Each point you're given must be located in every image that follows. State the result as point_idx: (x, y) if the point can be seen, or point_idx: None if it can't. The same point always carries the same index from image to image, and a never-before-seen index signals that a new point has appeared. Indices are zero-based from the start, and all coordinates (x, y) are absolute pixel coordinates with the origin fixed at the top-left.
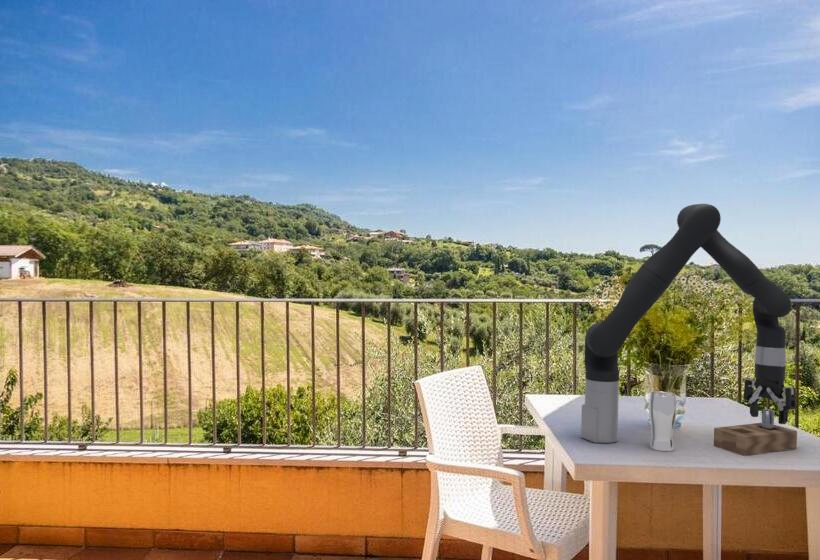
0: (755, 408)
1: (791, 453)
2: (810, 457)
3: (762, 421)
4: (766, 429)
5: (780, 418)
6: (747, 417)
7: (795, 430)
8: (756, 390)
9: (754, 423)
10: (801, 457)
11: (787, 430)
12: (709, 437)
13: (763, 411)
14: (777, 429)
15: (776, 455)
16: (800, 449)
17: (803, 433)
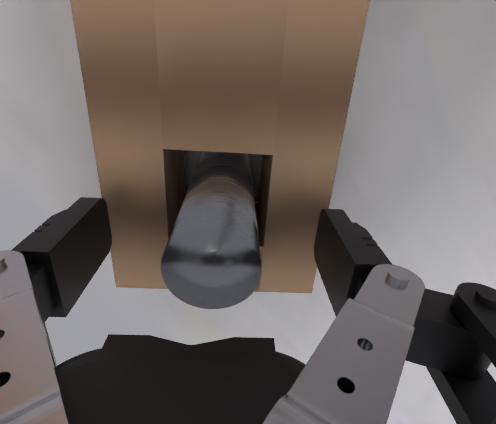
0: (335, 264)
1: (89, 149)
2: (18, 169)
3: (232, 186)
4: (205, 171)
5: (66, 213)
6: None
7: (124, 285)
8: (378, 421)
9: None
10: (22, 129)
11: (134, 249)
12: (475, 5)
13: (222, 222)
14: None
15: (72, 33)
16: None
17: None
